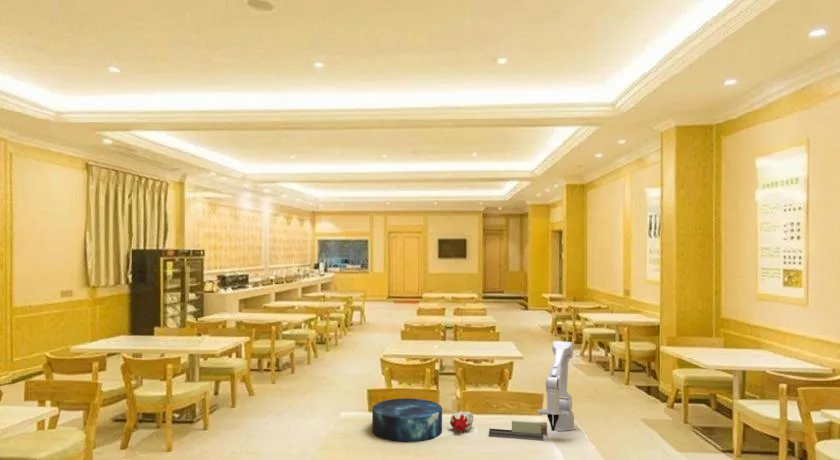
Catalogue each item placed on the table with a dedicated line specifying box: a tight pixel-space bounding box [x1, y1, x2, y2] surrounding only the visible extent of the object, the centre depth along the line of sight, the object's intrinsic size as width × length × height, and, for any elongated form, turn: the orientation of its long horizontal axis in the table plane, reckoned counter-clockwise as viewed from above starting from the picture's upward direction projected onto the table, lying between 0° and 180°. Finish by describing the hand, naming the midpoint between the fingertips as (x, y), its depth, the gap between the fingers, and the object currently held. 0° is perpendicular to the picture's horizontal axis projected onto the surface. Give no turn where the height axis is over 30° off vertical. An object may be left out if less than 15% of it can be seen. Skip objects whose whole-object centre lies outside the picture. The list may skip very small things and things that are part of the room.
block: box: [540, 421, 548, 437], centre depth 285 cm, size 5×5×5 cm
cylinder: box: [371, 397, 443, 443], centre depth 288 cm, size 35×35×12 cm
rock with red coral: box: [449, 411, 474, 433], centre depth 288 cm, size 9×11×15 cm
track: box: [488, 428, 544, 441], centre depth 280 cm, size 26×7×2 cm, turn 79°
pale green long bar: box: [511, 419, 542, 434], centre depth 280 cm, size 14×2×6 cm, turn 79°
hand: (552, 430), depth 276 cm, fingers closed
